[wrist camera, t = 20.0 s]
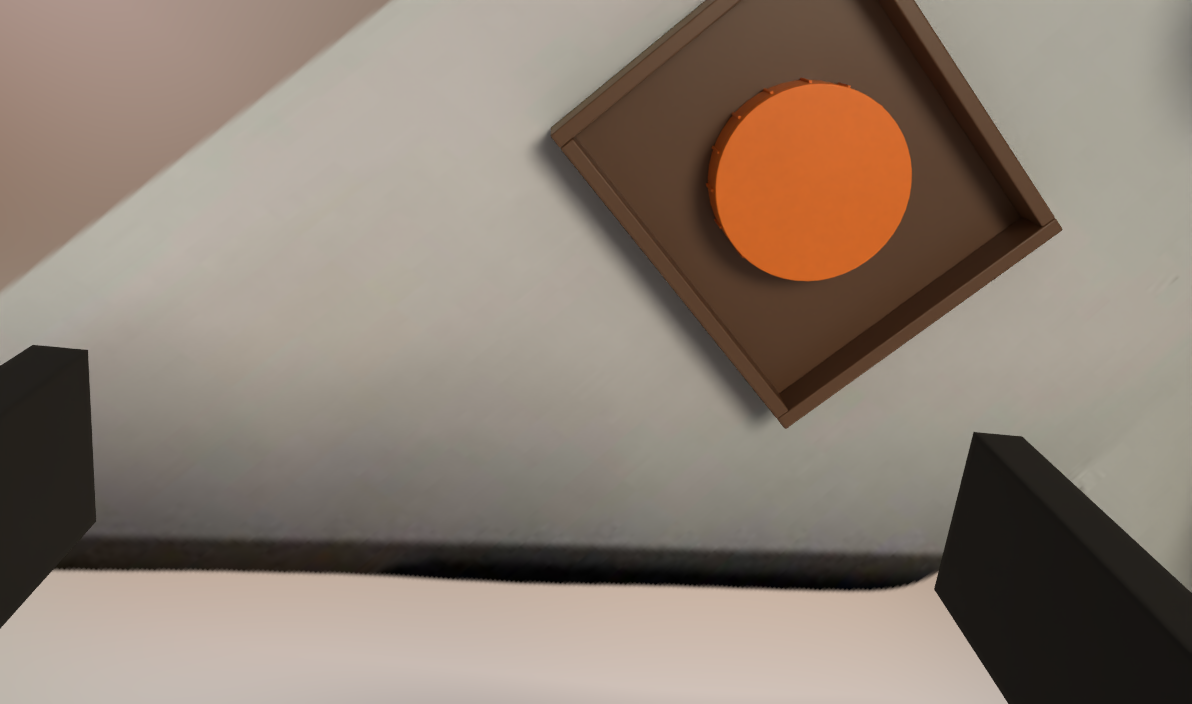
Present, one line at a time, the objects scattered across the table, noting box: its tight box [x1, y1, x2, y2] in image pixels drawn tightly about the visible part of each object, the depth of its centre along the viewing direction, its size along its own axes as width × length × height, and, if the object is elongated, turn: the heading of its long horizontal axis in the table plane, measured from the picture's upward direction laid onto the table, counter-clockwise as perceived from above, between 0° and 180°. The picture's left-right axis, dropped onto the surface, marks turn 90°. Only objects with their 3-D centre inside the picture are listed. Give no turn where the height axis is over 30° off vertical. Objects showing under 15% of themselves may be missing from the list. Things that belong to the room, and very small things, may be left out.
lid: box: [706, 78, 912, 281], centre depth 39 cm, size 8×8×2 cm
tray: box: [551, 0, 1062, 429], centre depth 40 cm, size 15×13×2 cm
